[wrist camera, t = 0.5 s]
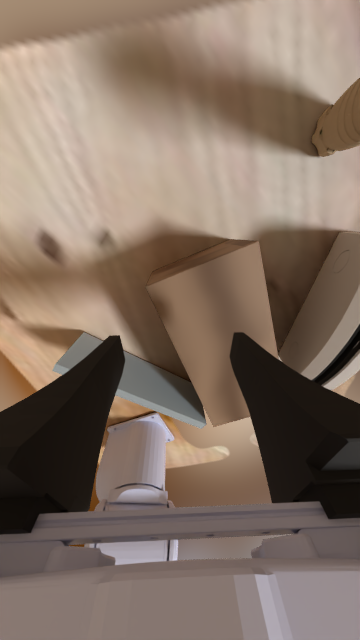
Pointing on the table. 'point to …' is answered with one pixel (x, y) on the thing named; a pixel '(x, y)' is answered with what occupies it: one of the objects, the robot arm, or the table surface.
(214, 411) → the cabinet
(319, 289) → the grey curved piece
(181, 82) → the table surface
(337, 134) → the handle
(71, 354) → the door
